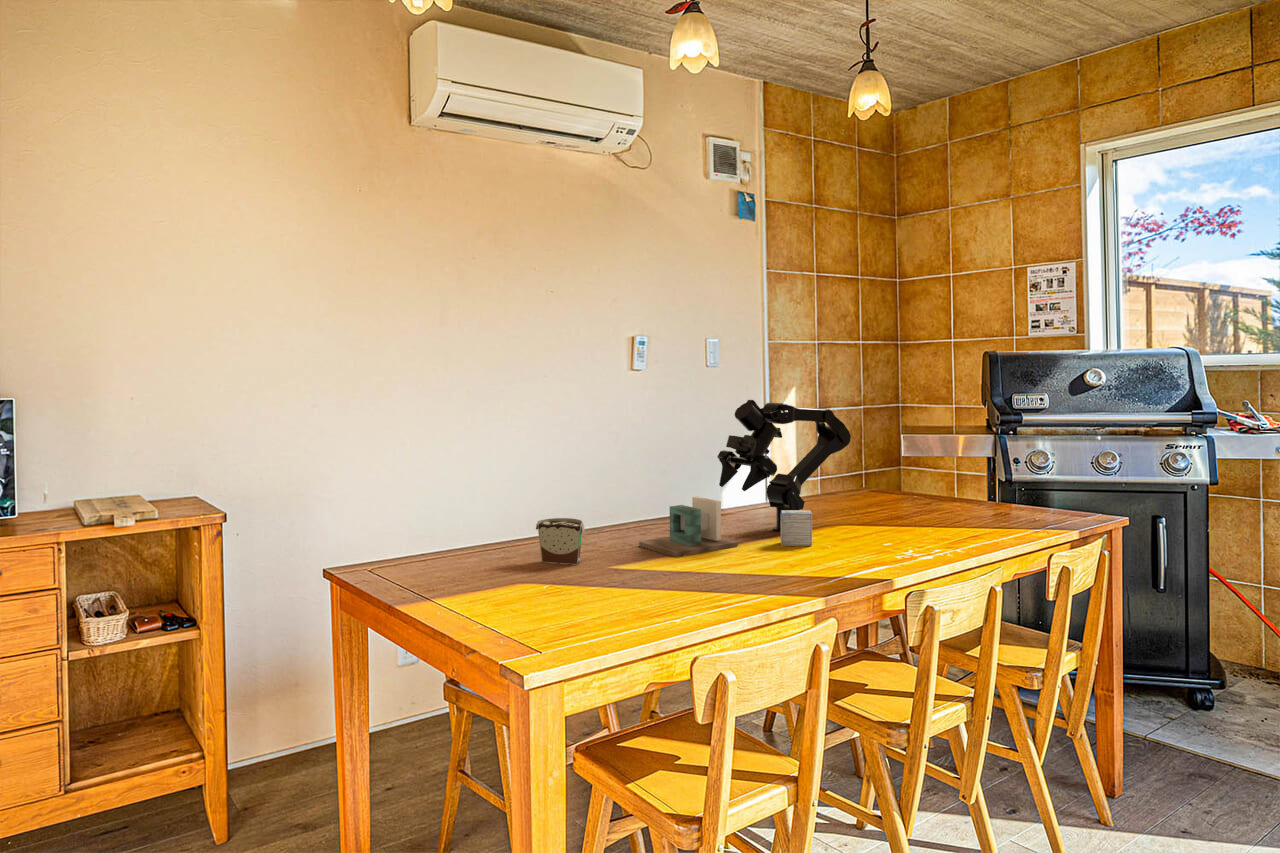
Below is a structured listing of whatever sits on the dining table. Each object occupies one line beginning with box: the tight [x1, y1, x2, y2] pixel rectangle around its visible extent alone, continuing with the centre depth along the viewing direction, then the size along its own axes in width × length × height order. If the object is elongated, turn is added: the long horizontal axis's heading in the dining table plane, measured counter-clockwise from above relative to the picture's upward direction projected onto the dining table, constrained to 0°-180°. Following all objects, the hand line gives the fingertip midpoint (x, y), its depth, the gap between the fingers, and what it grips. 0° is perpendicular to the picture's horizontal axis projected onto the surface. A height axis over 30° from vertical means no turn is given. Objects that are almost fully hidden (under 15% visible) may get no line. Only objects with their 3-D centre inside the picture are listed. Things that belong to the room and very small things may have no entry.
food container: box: [535, 517, 586, 566], centre depth 206 cm, size 12×6×10 cm, turn 71°
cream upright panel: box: [680, 496, 722, 540], centre depth 222 cm, size 8×10×10 cm
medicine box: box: [780, 509, 813, 547], centre depth 221 cm, size 8×4×9 cm, turn 84°
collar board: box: [638, 504, 739, 558], centre depth 220 cm, size 20×16×10 cm
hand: (731, 488), depth 228 cm, fingers open, 9 cm apart
